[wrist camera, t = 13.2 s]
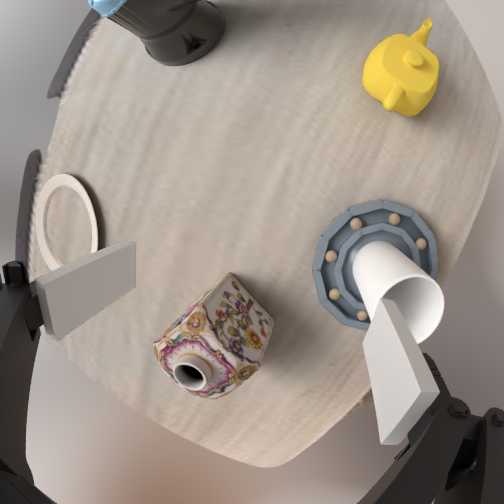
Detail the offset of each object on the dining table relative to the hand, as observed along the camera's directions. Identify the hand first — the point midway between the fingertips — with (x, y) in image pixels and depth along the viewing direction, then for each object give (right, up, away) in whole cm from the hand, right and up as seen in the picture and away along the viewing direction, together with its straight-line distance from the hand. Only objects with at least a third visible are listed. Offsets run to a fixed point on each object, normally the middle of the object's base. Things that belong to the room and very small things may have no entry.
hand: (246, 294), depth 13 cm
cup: (+19, 0, +25) cm, 32 cm away
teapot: (+23, +29, +18) cm, 41 cm away
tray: (+20, 0, +26) cm, 33 cm away
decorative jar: (-3, -9, +34) cm, 35 cm away
